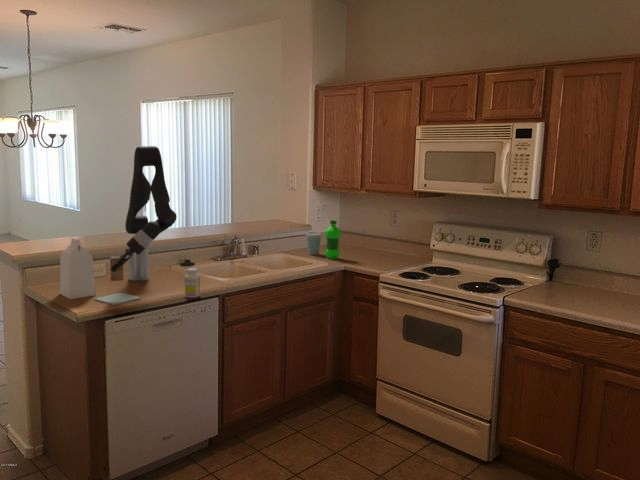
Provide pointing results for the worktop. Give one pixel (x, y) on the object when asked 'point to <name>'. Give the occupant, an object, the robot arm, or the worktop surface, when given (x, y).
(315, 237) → the disposable coffee cup
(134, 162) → the robot arm
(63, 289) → the milk
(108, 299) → the sage board
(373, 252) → the worktop surface
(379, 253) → the worktop surface
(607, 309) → the worktop surface
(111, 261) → the walnut block
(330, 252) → the plastic bottle
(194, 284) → the supplement bottle
